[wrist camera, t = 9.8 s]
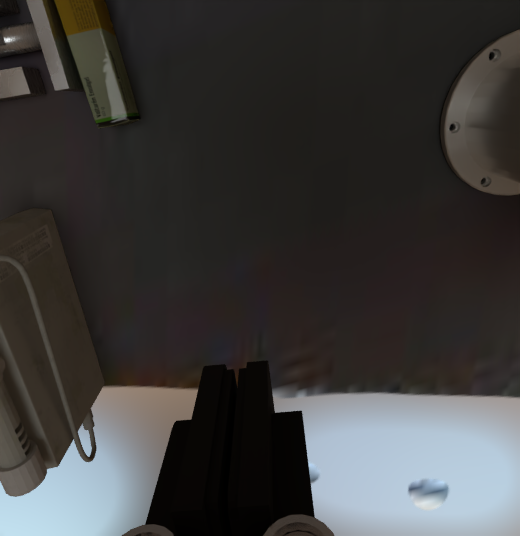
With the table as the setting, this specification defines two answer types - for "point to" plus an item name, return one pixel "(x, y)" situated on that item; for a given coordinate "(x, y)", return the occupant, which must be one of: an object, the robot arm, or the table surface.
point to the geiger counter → (41, 354)
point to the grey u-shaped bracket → (18, 70)
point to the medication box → (98, 61)
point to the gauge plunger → (44, 44)
